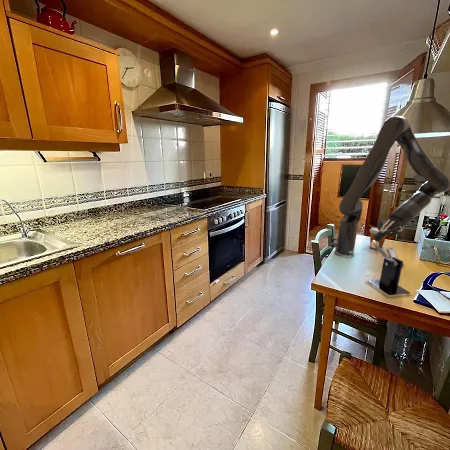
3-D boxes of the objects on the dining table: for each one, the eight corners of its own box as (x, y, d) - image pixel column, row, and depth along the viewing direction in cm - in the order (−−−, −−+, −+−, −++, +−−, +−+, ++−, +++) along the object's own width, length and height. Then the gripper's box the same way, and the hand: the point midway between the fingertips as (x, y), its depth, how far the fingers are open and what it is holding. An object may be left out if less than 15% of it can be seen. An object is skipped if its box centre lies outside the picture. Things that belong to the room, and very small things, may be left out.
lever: (367, 244, 113) (370, 238, 111) (373, 244, 114) (377, 238, 112) (389, 269, 102) (393, 263, 99) (396, 268, 102) (401, 262, 100)
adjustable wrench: (387, 249, 149) (387, 246, 148) (400, 251, 145) (400, 248, 145) (388, 264, 128) (389, 261, 128) (403, 267, 125) (404, 264, 124)
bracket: (367, 283, 110) (372, 254, 106) (386, 281, 112) (392, 253, 108) (388, 297, 99) (395, 266, 95) (409, 295, 100) (416, 264, 96)
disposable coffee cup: (384, 246, 153) (387, 228, 149) (385, 251, 145) (388, 232, 141) (367, 244, 157) (369, 226, 154) (366, 249, 149) (370, 230, 146)
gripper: (390, 203, 114) (361, 229, 116) (413, 210, 101) (381, 239, 103) (399, 214, 115) (370, 239, 118) (423, 222, 103) (390, 250, 105)
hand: (375, 239), depth 111 cm, fingers closed
